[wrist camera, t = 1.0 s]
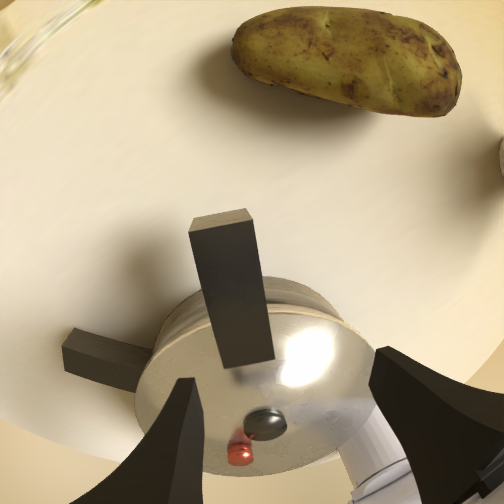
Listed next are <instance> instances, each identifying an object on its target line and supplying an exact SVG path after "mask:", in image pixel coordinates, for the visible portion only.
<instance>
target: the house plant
mask: <svg viewBox="0 0 504 504" xmlns="http://www.w3.org/2000/svg"><path fill="white" fill-rule="evenodd" d="M499 161H500V168H501V172H502V174H503V177H504V138H503V140H502V142H501V145H500V151H499Z"/></svg>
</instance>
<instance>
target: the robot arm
mask: <svg viewBox="0 0 504 504" xmlns="http://www.w3.org/2000/svg"><path fill="white" fill-rule="evenodd" d="M368 386H369V388H370V391H371V393H372V396H373V398H374V400H375V402H376V406H375V408H374V410H373V412H372V413H371V415H370V417H369V418H368V420H367V421H366V422H365V423H364V425H363V426H362V427H361V428H360V429H359V430H358V431H357V433H356V434H355V435H354V436H352V437H351V438H350V439H349V440H348V441H347V442H345V443H344V444H343V445H341V446H340V447H339V448H337V449H338V451H339V453H340V456H341V458H342V461H343V463H344V466H345V468H346V470H347V473H348V475H349V478H350V480H351V482H352V485H353V487H354V490H353V491H351V495H352V498H353V499H352V500H350V501H348V503H347V504H504V394H501V393H495V392H490V391H485V390H482V389H478V388H474V387H471V386H468V385H465V384H463V383H460V382H457V381H455V380H452V379H450V378H448V377H446V376H444V375H441V374H439V373H437V372H435V371H433V370H431V369H430V368H428V367H426V366H424V365H422V364H420V363H419V362H417V361H415V360H413V359H411V358H410V357H408V356H406V355H405V354H403V353H401V352H399V351H397V350H396V349H394V348H392V347H390V346H386V347H382V348H379V349H376V352H375V357H374V362H373V366H372V370H371V375H370V379H369V383H368ZM204 439H205V428H204V411H203V408H202V404H201V400H200V396H199V393H198V389H197V385H196V381H195V377H189V378H178V379H177V380H176V382H175V385H174V387H173V389H172V391H171V393H170V395H169V397H168V399H167V401H166V402H165V404H164V406H163V408H162V409H161V411H160V413H159V415H158V416H157V418H156V420H155V421H154V423H153V424H152V426H151V427H150V429H149V430H148V432H147V433H146V434H145V436H144V437H143V439H142V440H141V441H140V443H139V444H138V445H137V446H136V448H135V449H134V450H133V451H132V452H131V454H130V455H129V456H128V457H127V458H126V459H125V460H124V461H123V462H122V463H121V464H120V465H119V467H117V468H116V469H115V470H114V471H113V472H112V473H111V474H110V475H109V476H108V477H106V478H105V479H104V480H103V481H101V482H100V483H99V484H98V485H97V486H95V487H94V488H93V489H91V490H90V491H89V492H87V493H86V494H84V495H82V496H81V497H79V498H78V499H76V500H74V501H73V502H71V503H69V504H203V496H202V472H203V455H204Z"/></svg>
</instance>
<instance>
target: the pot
mask: <svg viewBox="0 0 504 504" xmlns="http://www.w3.org/2000/svg"><path fill="white" fill-rule="evenodd" d="M262 278H263V284H264V291H265V297H266V303H267V308H279V307H283V308H296V309H305V310H310V311H315V312H320V313H323V314H326V315H329V316H332V317H334V318H337V319H339V320H341V321H342V322H344V321H343V320H342V318H341V317H340V316H339V314H338V313H337V312H336V310H335V309H334V308H333V307H332V306H331V304H330V303H329V302H328V301H327V300H326V299H325V298H323V297H322V296H321V295H320V294H318V293H317V292H315V291H314V290H312V289H310V288H309V287H306V286H304V285H302V284H300V283H297V282H294V281H290V280H287V279H282V278H275V277H264V276H262ZM207 320H210V319H209V315H208V311H207V307H206V304H205V300H204V296H203V292H202V290H200V291H198V292H196V293H195V294H193V295H192V296H190V297H189V298H187V299H186V300H185V301H183V302H182V303H181V304H180V305H179V306H178V307H177V308H175V310H174V311H173V312H172V313H171V314H170V315H169V317H168V318H167V319H166V321H165V323H164V324H163V326H162V327H161V330H160V332H159V335H158V337H157V340H156V344H155V347H154V351H153V354H152V350H150V349H146V348H142V347H138V346H134V345H130V344H127V343H123V342H119V341H116V340H112V339H109V338H105V337H102V336H99V335H95V334H92V333H89V332H86V331H83V330H80V329H77V328H74V329H73V330H72V332H71V333H70V335H69V336H68V337H67V339H66V340H65V342H64V343H63V345H62V353H63V361H64V369H65V371H66V372H69V373H72V374H74V375H77V376H80V377H83V378H86V379H89V380H92V381H95V382H98V383H102V384H105V385H108V386H112V387H115V388H119V389H122V390H126V391H130V392H133V393H136V390H137V386H138V383H139V379H140V376H141V374H142V372H143V370H144V368H145V366H146V364H147V363H148V361H149V360H150V359H151V358H152V356H153V355H154V354H155V353H156V352H157V351H158V350H159V349H160V348H161V347H162V346H163V345H164V344H166V343H167V342H168V341H169V340H171V339H172V338H174V337H175V336H177V335H178V334H180V333H181V332H183V331H185V330H187V329H189V328H191V327H193V326H195V325H197V324H199V323H201V322H204V321H207ZM344 323H345V322H344Z"/></svg>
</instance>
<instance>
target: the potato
mask: <svg viewBox="0 0 504 504" xmlns="http://www.w3.org/2000/svg"><path fill="white" fill-rule="evenodd" d="M232 41H233V45H232V48H231V56H232V60H233V61H234V63H235V64H236V65H237V66H238V68H239V69H240V70H241V71H242V72H243V73H244V74H245V75H246V76H249V77H252V78H253V79H255V80H258V81H260V82H261V83H266V84H268V85H271V86H273V85H275V84H277V85H279V86H282V87H285V88H292V89H295V90H296V92H298V93H300V94H302V95H307V96H312V97H316V98H318V99H321V98H322V99H328V100H332V101H335V102H339V103H343V104H346V105H348V106H354V107H358V108H362V109H366V110H370V111H373V112H377V113H382V114H390V115H405V116H411V117H433V118H434V117H441V116H445V115H446V114H447V113H449V112H450V111H451V110H452V109H453V108H454V106H456V103H457V100H458V97H459V94H460V90H461V84H462V73H461V69H460V66H459V64H458V62H457V60H456V57H455V54H454V51H453V49H452V48H451V46H450V45H449V44H448V42H447V41H446V40H445V39H444V38H443V37H442V36H441V35H440V34H439V33H438V32H437V31H435V30H434V29H433V28H431V27H430V26H428V25H426V24H425V23H423V22H420V21H417V20H414V19H411V18H407V17H402V16H394V15H392V14H390V13H385V12H379V11H373V10H368V9H359V8H346V7H324V6H304V7H291V8H284V9H278V10H274V11H270V12H267V13H263V14H261V15H258V16H255V17H253V18H251V19H249V20H248V21H246V22H244V23H243V24H242V25H241V26H240V27H239V28H238V29H237V31H236V33H235V35H234V37H233V39H232Z"/></svg>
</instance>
